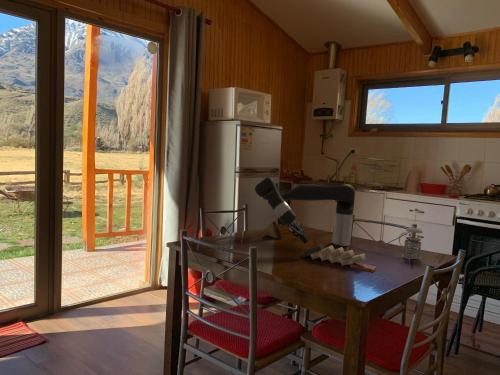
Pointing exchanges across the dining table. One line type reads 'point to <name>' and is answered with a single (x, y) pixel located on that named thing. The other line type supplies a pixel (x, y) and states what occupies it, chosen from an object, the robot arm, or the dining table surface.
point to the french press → (414, 243)
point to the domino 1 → (312, 250)
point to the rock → (274, 231)
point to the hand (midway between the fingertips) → (306, 242)
